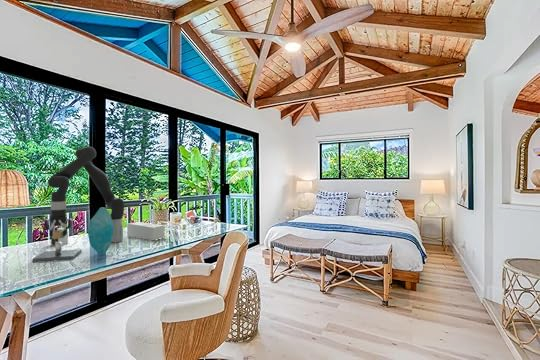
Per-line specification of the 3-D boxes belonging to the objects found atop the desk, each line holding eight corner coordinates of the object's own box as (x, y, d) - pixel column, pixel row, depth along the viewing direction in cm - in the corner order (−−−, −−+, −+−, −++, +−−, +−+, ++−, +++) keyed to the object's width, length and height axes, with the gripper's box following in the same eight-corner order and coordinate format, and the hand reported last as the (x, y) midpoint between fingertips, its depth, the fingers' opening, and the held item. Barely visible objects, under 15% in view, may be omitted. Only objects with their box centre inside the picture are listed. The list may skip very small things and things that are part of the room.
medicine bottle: (50, 244, 200) (51, 228, 200) (61, 242, 207) (61, 226, 207) (57, 245, 198) (58, 229, 198) (68, 243, 205) (68, 227, 205)
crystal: (90, 252, 182) (90, 206, 182) (114, 251, 187) (114, 206, 186) (85, 258, 171) (85, 209, 170) (111, 256, 176) (111, 208, 175)
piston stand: (81, 252, 183) (81, 238, 183) (73, 259, 168) (73, 244, 168) (44, 254, 176) (44, 240, 176) (32, 262, 161) (32, 246, 161)
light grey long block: (127, 236, 232) (127, 223, 232) (138, 234, 241) (138, 221, 241) (153, 241, 217) (153, 227, 217) (164, 238, 226) (164, 225, 226)
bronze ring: (65, 236, 176) (66, 230, 176) (62, 238, 170) (62, 231, 170) (54, 236, 174) (54, 230, 174) (50, 238, 168) (50, 232, 168)
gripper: (74, 207, 178) (74, 234, 178) (47, 208, 173) (46, 235, 173) (70, 209, 171) (69, 236, 171) (41, 209, 166) (41, 237, 166)
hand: (58, 235), depth 172 cm, fingers closed on bronze ring, 6 cm apart
